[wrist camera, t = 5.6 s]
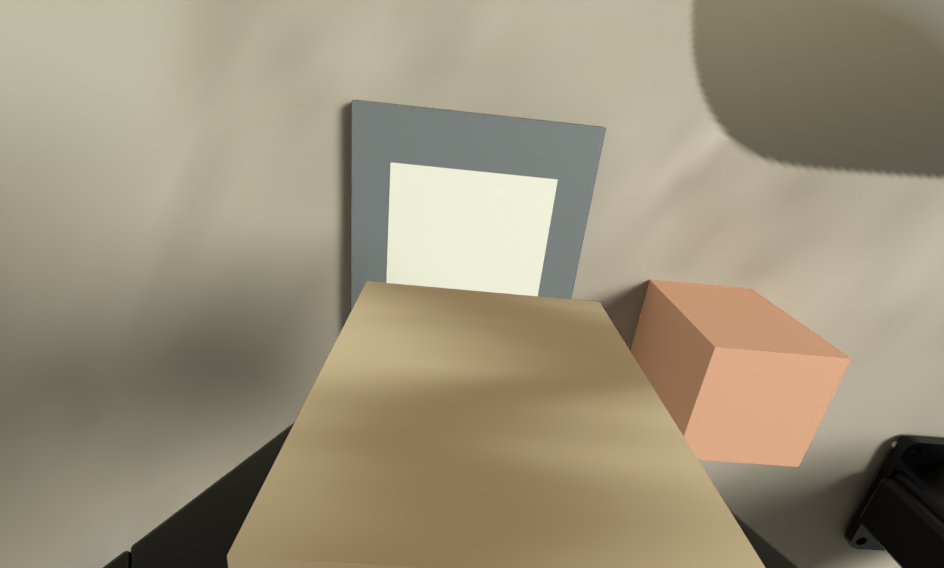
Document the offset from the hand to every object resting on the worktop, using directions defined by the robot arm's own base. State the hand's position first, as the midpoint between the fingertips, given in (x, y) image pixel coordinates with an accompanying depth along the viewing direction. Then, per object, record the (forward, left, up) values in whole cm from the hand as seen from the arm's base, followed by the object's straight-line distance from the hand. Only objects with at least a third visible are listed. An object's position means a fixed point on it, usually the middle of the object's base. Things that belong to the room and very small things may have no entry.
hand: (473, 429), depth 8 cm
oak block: (0, 0, -1) cm, 1 cm away
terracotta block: (-9, +3, -10) cm, 14 cm away
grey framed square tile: (0, 0, -10) cm, 10 cm away
